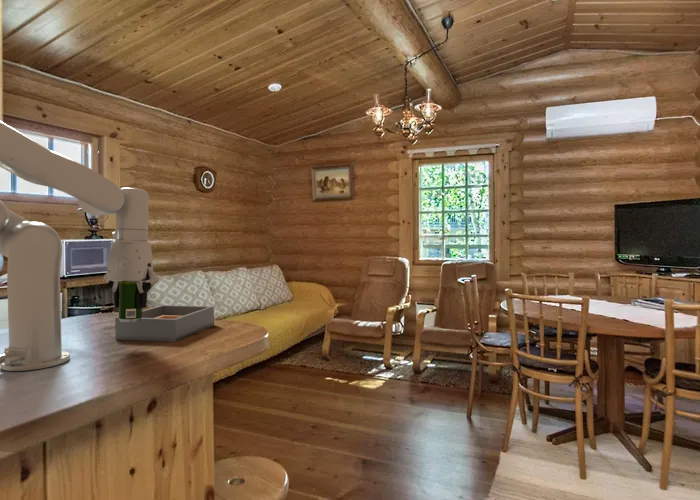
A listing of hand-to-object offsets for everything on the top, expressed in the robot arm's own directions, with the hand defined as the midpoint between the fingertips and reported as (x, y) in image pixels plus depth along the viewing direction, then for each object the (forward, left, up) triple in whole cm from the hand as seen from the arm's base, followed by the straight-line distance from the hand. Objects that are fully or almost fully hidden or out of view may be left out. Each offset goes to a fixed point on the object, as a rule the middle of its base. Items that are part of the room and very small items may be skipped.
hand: (130, 306), depth 111 cm
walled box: (+18, +1, -10) cm, 20 cm away
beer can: (0, 0, -4) cm, 4 cm away
